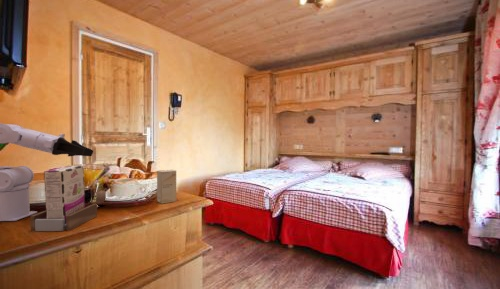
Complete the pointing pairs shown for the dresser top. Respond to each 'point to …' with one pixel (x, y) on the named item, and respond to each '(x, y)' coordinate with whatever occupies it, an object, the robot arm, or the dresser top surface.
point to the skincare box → (166, 186)
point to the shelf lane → (70, 217)
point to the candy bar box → (64, 191)
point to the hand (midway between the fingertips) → (88, 152)
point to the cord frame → (60, 223)
